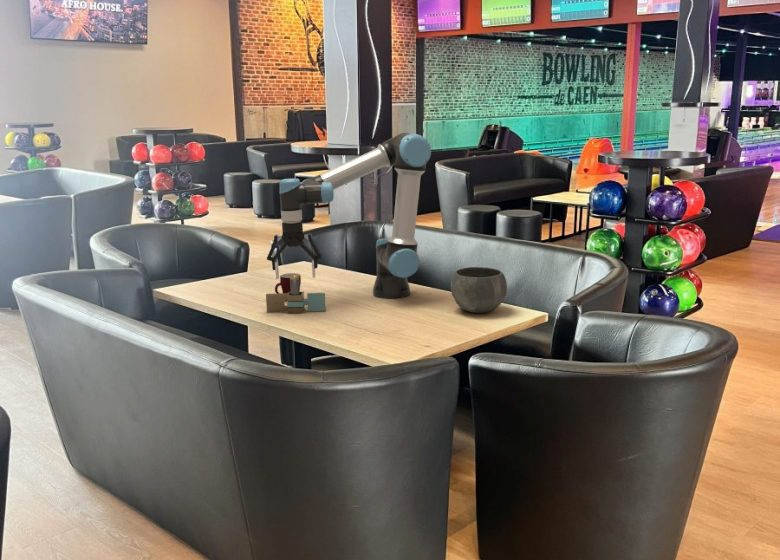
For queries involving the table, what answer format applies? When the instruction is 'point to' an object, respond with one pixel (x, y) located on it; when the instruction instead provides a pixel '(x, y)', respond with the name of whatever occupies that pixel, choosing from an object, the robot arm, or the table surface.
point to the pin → (294, 285)
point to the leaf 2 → (311, 302)
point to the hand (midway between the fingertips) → (295, 277)
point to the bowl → (478, 289)
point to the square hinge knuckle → (277, 303)
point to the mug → (286, 283)
